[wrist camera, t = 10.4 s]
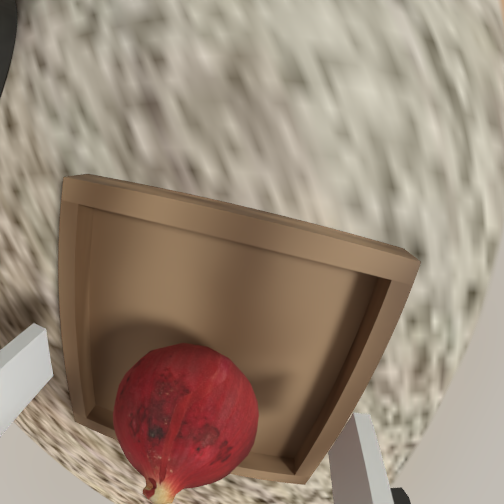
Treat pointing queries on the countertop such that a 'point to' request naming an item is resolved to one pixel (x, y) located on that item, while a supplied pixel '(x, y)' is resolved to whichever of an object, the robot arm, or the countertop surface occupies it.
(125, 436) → the red fruit
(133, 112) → the countertop surface
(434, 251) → the countertop surface
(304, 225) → the tray
